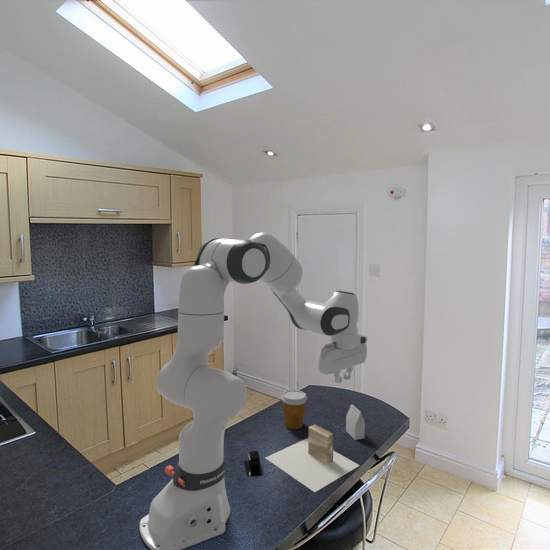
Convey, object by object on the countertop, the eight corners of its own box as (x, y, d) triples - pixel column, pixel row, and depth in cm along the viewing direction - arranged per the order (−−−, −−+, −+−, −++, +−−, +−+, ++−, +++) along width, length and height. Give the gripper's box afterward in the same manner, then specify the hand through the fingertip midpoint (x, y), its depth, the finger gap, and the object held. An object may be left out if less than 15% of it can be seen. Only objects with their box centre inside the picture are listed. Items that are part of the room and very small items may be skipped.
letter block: (326, 464, 126) (327, 436, 125) (308, 453, 132) (308, 427, 131) (333, 460, 128) (333, 433, 127) (314, 450, 134) (315, 424, 133)
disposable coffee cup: (311, 423, 152) (311, 393, 151) (298, 434, 144) (299, 402, 143) (289, 417, 158) (289, 387, 156) (276, 427, 150) (276, 396, 148)
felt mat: (314, 492, 113) (314, 492, 113) (264, 458, 129) (264, 457, 129) (359, 465, 126) (359, 465, 126) (309, 437, 142) (309, 437, 142)
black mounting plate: (268, 479, 120) (268, 464, 119) (244, 482, 118) (244, 467, 118) (262, 456, 132) (262, 442, 131) (239, 458, 130) (239, 444, 130)
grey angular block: (354, 440, 141) (355, 413, 139) (345, 431, 147) (346, 404, 146) (364, 438, 142) (365, 411, 141) (354, 429, 148) (355, 403, 147)
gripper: (329, 348, 123) (328, 391, 125) (370, 336, 136) (369, 376, 138) (314, 343, 128) (313, 385, 129) (355, 332, 141) (354, 371, 143)
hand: (342, 380), depth 134 cm, fingers open, 3 cm apart
